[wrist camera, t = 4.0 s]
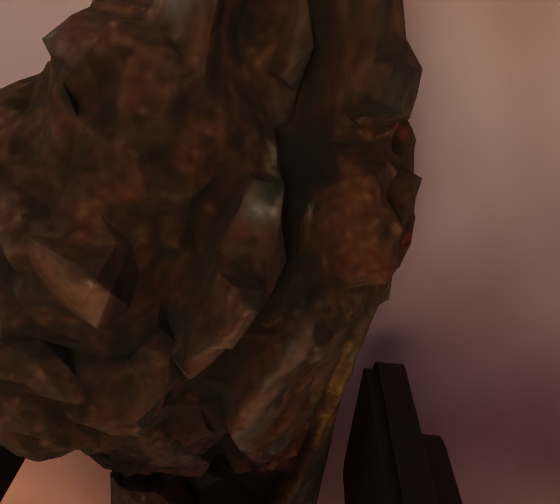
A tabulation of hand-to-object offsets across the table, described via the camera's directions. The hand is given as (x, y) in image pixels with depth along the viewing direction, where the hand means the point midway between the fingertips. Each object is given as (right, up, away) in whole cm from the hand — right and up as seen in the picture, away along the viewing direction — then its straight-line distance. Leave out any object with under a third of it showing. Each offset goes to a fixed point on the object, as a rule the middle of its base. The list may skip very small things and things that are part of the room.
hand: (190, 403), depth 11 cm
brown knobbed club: (0, +1, +2) cm, 2 cm away
